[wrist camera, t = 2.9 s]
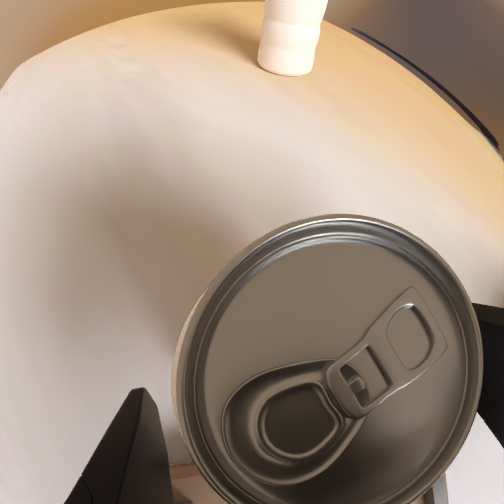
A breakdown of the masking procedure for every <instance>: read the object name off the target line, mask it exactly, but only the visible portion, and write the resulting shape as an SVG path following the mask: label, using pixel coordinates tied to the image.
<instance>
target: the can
mask: <svg viewBox="0 0 504 504" xmlns="http://www.w3.org/2000/svg"><path fill="white" fill-rule="evenodd" d="M483 369H484V359H483V346H482V338H481V333H480V328H479V324H478V320H477V317H476V314H475V311H474V308H473V306H472V303H471V301H470V299H469V296H468V294H467V292H466V290H465V289H464V287H463V285H462V283H461V282H460V280H459V279H458V277H457V276H456V274H455V273H454V271H453V270H452V269H451V267H450V266H449V265H448V264H447V263H446V261H445V260H444V259H443V258H442V257H441V256H440V255H439V254H438V253H437V252H436V251H435V250H434V249H432V248H431V247H430V246H429V245H428V244H426V243H425V242H424V241H422V240H421V239H420V238H418V237H417V236H415V235H413V234H412V233H410V232H408V231H406V230H405V229H403V228H401V227H398V226H396V225H394V224H391V223H389V222H386V221H383V220H379V219H376V218H372V217H367V216H361V215H352V214H328V215H320V216H314V217H309V218H305V219H301V220H298V221H295V222H292V223H289V224H286V225H284V226H281V227H279V228H277V229H275V230H273V231H271V232H269V233H267V234H265V235H264V236H262V237H260V238H259V239H257V240H256V241H254V242H253V243H251V244H250V245H249V246H247V247H246V248H245V249H243V250H242V251H241V252H240V253H239V254H238V255H236V256H235V257H234V258H233V259H232V260H231V261H230V262H229V263H228V264H227V265H226V266H225V267H224V268H223V269H222V271H221V272H220V273H219V274H218V275H217V276H216V278H215V279H214V280H213V282H212V283H211V284H210V286H209V287H208V288H207V289H206V290H205V292H204V293H203V294H202V296H201V297H200V298H199V300H198V301H197V303H196V304H195V306H194V307H193V309H192V311H191V312H190V314H189V316H188V318H187V320H186V322H185V324H184V326H183V329H182V331H181V334H180V337H179V340H178V343H177V346H176V350H175V354H174V360H173V366H172V377H171V391H172V403H173V409H174V414H175V418H176V422H177V425H178V428H179V431H180V433H181V436H182V438H183V440H184V442H185V444H186V446H187V449H188V451H189V453H190V456H191V458H192V460H193V461H194V463H195V465H196V467H197V468H198V470H199V472H200V473H201V475H202V476H203V477H204V479H205V480H206V481H207V483H208V484H209V485H210V486H211V487H212V489H213V490H214V491H215V492H216V493H217V494H218V495H219V496H220V497H221V498H222V499H223V500H225V501H226V502H227V503H228V504H411V503H412V502H414V501H415V500H416V499H418V498H419V497H420V496H421V495H423V494H424V493H425V492H426V491H427V490H428V489H429V488H430V487H431V486H432V485H433V484H434V483H435V482H436V481H437V480H438V479H439V478H440V477H441V476H442V475H443V473H444V472H445V471H446V470H447V469H448V467H449V466H450V464H451V463H452V462H453V460H454V459H455V457H456V456H457V454H458V453H459V451H460V449H461V447H462V446H463V444H464V442H465V440H466V438H467V436H468V434H469V431H470V429H471V427H472V424H473V421H474V418H475V415H476V412H477V409H478V405H479V401H480V396H481V390H482V383H483Z"/></svg>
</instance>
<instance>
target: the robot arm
mask: <svg viewBox="0 0 504 504" xmlns="http://www.w3.org/2000/svg"><path fill="white" fill-rule="evenodd" d="M472 306H473V308H474V311H475V314H476V317H477V320H478V324H479V328H480V333H481V338H482V346H483V359H484V369H483V383H482V390H481V396H480V401H479V405H478V409H477V412H478V414H479V415H480V416H481V418H482V419H483V420H484V422H485V423H486V425H487V426H488V427H489V429H490V430H491V431H492V433H493V434H494V435H495V437H496V438H497V440H498V441H499V442H500V444H501V445H502V447H503V448H504V308H500V307H499V308H498V307H494V306H488V305H482V304H477V303H472ZM64 504H175V502H174V496H173V490H172V484H171V477H170V470H169V462H168V455H167V449H166V445H165V440H164V436H163V432H162V427H161V422H160V417H159V412H158V408H157V405H156V403H155V402H154V400H153V399H152V397H151V396H150V394H149V393H148V391H147V390H146V389H145V388H143V387H142V388H136V389H132V390H131V391H130V393H129V394H128V396H127V398H126V399H125V401H124V403H123V404H122V406H121V407H120V409H119V411H118V412H117V414H116V416H115V417H114V419H113V421H112V422H111V424H110V426H109V427H108V429H107V431H106V433H105V434H104V436H103V438H102V439H101V441H100V443H99V445H98V446H97V448H96V450H95V451H94V453H93V455H92V457H91V458H90V460H89V462H88V464H87V465H86V467H85V469H84V471H83V473H82V476H80V478H79V479H78V481H77V483H76V485H75V487H74V488H73V490H72V492H71V493H70V495H69V497H68V498H67V500H66V501H65V503H64Z"/></svg>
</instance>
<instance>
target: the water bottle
mask: <svg viewBox="0 0 504 504" xmlns="http://www.w3.org/2000/svg"><path fill="white" fill-rule="evenodd" d="M327 2H328V0H265V5H264V18H263V20H262V25H261V41H260V45H259V50H258V58H257V60H258V63H259V65H260V66H261V67H262V68H264V69H265V70H267V71H269V72H272V73H275V74H278V75H283V76H302V75H305V74H307V73H309V72H310V71H311V69H312V66H313V61H314V55H315V47H316V45H317V43H318V40H319V36H320V24H321V22H322V19H323V16H324V13H325V10H326V6H327Z"/></svg>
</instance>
